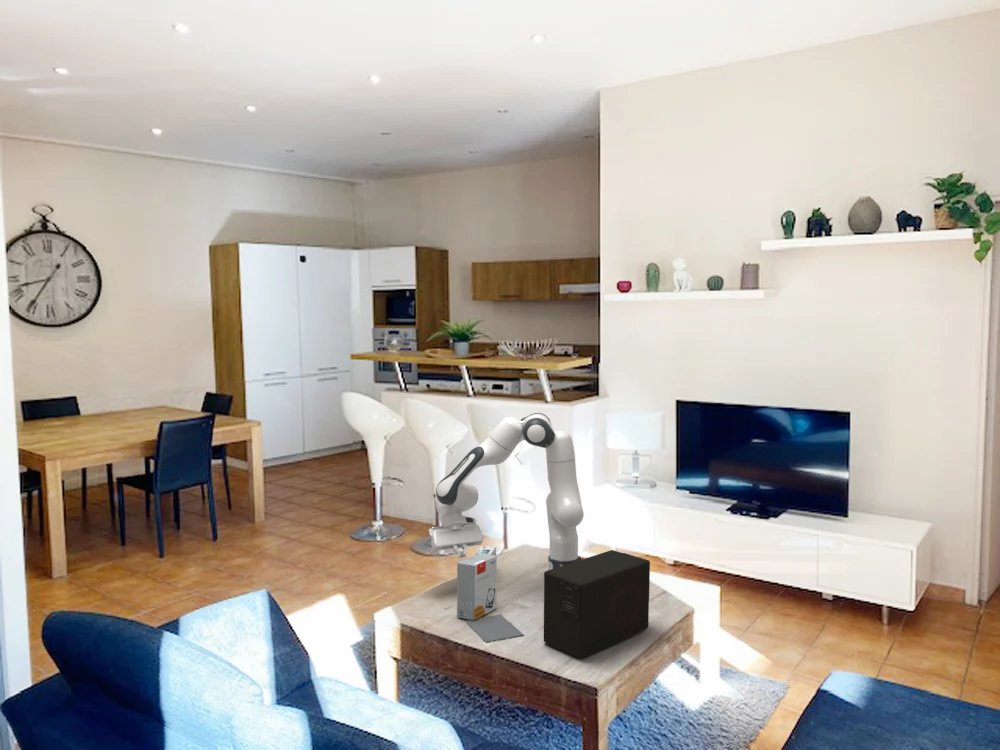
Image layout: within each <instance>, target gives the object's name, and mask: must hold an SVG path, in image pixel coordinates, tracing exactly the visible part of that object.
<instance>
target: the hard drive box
mask: <svg viewBox="0 0 1000 750" xmlns="http://www.w3.org/2000/svg"><path fill="white" fill-rule="evenodd" d="M497 557H498V556H497V555H496V556H495V555H489V554H484V553H479V554H477V555H476V554H475V555H472V556H469V557H468V558H464V559H463V560H461V561H459V562H457V564H456V565H457V566H456V567H457V568H456V575H457V576H456V587H457V588H456V617H457V618H461V619H465V620H473V621H474V620H476V619H478V618H482V617H483V616H484V615H487V614H488V613H490V612H492V611H495V610H496V609H497V604H498V603H497V602H498V601H497V599H498V597H497V593H498V591H497V585H498V584H497V582H498V581H497V572H498V571H497V569H498V568H497V560H498V559H497Z"/></svg>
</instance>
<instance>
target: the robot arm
mask: <svg viewBox="0 0 1000 750" xmlns="http://www.w3.org/2000/svg"><path fill="white" fill-rule="evenodd" d="M551 422H552V421H551V420H550V417H548V416H547V415H546V414H543V413H541V412H534V413H531V414H528V415H527V416H526V417H525V416H524V417H522V418H521V419H518V418H517V417H514V416H506V417H504V418H503V419H502V420H500V422H499V423H498V424H496V426H495V427H494V428H493V429H492V431H491V432H490V434H489V435H488V436H487V438H486V439H484V440H483V442H481V443H480V444H479V445H478V446H475V447H473V448H472V449H471V450H470V451H469V452H468V453H467V454H466V455H465V456H464V457H463V458H462V460H460V462H459V463H458V464H457V465H456V466H455V467H453V468H454V469H452V471H450V473H449V474H447V475H446V476H445V477H444V478H442V479H441V480H440V481H439V482H438V484H437V486H436V488H435V489H436V490H435V495H434V499H435V500H434V501H435V507H436V510H437V513H438V516H439V521H440V525H439V526H433V527H431V528H429V530H428V534H429V537H430V538H431V539H430V541H431V548H432V549H433V550H434V551H442V550H450V549H452V551H453V552H454V553H455V554H456V555H457V556H456V557H457V558H458V559H460V558H466V557H467V553H466V550H467V547H472V546H473V547H474V546H482V543H483V542H484V536H483V533H482V530H481V527H480V526H479V525H478V524H477V520H476V518H475V517H470V516H466V515H463V513H464V512H466V511H468V510H470V509H472V508H474V506H476V505H477V503H478V500H479V491H478V489H477V488H476V486H473V485H472V484H469V483H466V482H465V480H467V478H469V476H470V475H471V474H472V473H473V472H474V471H475V470H476V469H479V467H480V468H481V467H484V466H493V465H494V466H495V465H500V464H503V463H504V462H505V461H506V460H507V459H509V457H510V456H511V455H512V453H513V451H515V449H516V447H517V446H518V445H519V444H520V443H521V442H522V441H526V442H527V443H528V444H529V445H531V446H535V447H539V448H543V449H545V454H546V455H545V456H546V457H545V458H546V468H547V469H546V470H547V471H546V472H547V481H548V485H549V489H550V492H549V493H548V495H547V496H546V500H545V504H546V513H547V514H546V515H547V516H546V517H547V525H548V526H547V527H548V534H549V555H548V560H547V562H548V563H547V564H548V566H547V567H548V569H547V571H548V570H551V569H554V568H557V567H560V566H563V565H566V564H570V563H573V562H576V561H579V560H582V559H585V558H586V557H581V556H580V555H579V535H578V531H577V526H579V525H580V524H581V523H582V521H583V519H584V516H585V515H584V510H583V505H582V501H581V500H582V499H581V495H580V494H581V493H580V489H579V484H578V478H577V477H578V476H577V466H576V465H577V464H576V454H575V453H576V452H575V447H574V446H575V445H574V441H573V438H572V435H571V434H570V432H568V431H566V430H559V429H558V430H556V429H554V428H553V427H552V426H553V425H552V423H551ZM458 548H461V551H460V550H459V549H458Z"/></svg>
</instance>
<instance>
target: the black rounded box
mask: <svg viewBox="0 0 1000 750" xmlns="http://www.w3.org/2000/svg"><path fill="white" fill-rule="evenodd" d="M584 558H585V559H582V560H579V561H576V562H573V563H570V564H566V565H563V566H560V567H557V568H554V569H551V570H548V569H547V570H545V571H544V573H543V643H546V644H548V645H551V646H553V647H555V648H557V649H559V650H562V651H564V652H565V653H568V654H571V655H573V656H575V657H577V658H579V659H583V658H585V657H588V656H590V655H592V654H595V653H596V652H599V651H602V649H605V648H607V647H610V646H612V645H614V644H616V643H619V642H621V641H623V640H625V639H627V638H630V637H633V636H635V635H637V634H639V633H641V632H643V631H645V630H648V629H649V618H650V617H649V613H650V610H649V609H650V607H649V606H650V583H651V582H650V581H651V580H650V578H651V577H650V575H651V574H650V572H651V561H650V560H649V559H645V558H643V557H639V556H635V555H633V554H630V553H629V554H628V553H626V552H621V551H617V550H614V549H610V550H607V551H605V552H601V553H598V554H596V555H592V556H589V557H584Z"/></svg>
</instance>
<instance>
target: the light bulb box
mask: <svg viewBox="0 0 1000 750" xmlns="http://www.w3.org/2000/svg"><path fill="white" fill-rule="evenodd" d="M479 553H484V554H489V555H495V556H497V547H496V546H486V545H485V546H484V545H480V546H479V549H478V550H477V551H476V552H475V555H477V554H479Z"/></svg>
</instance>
